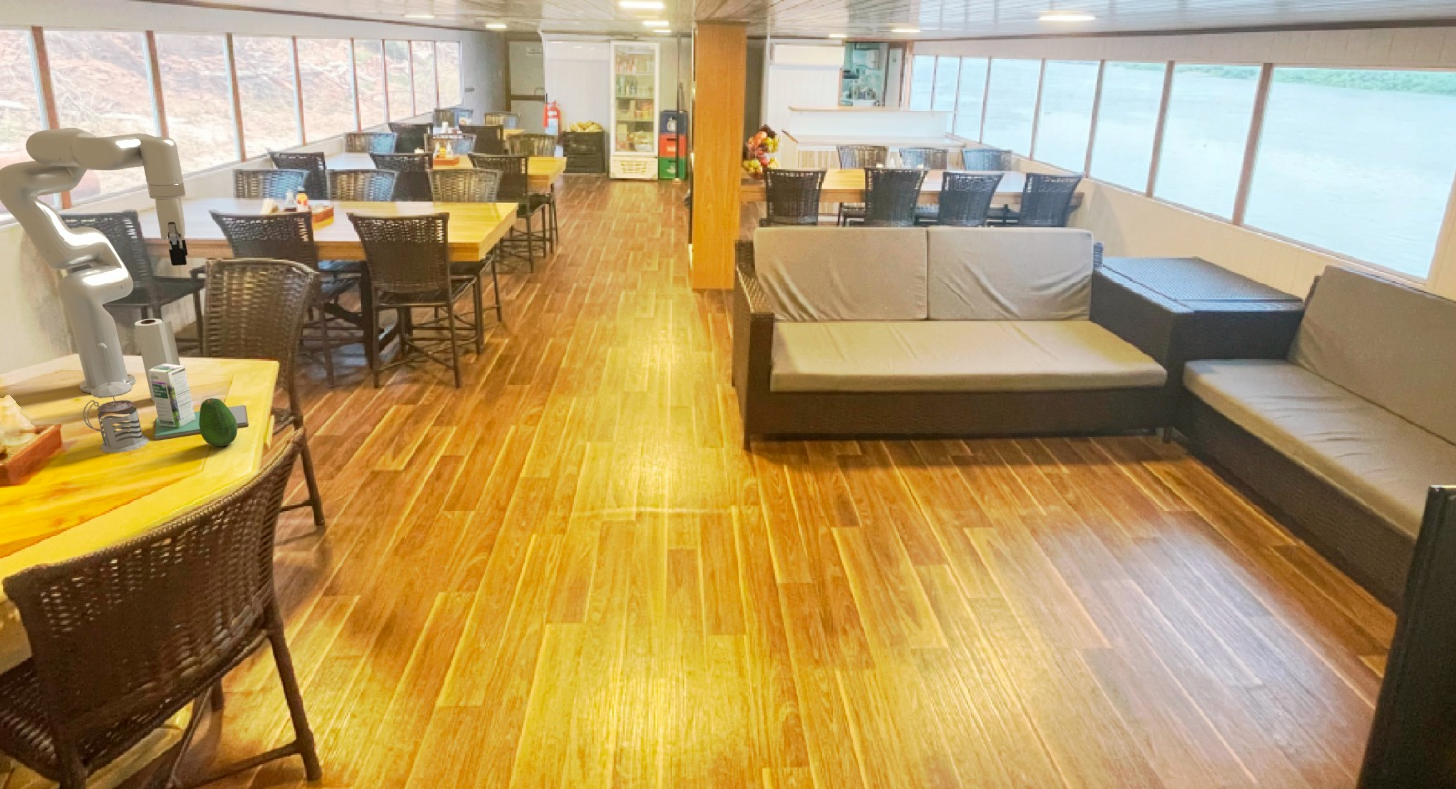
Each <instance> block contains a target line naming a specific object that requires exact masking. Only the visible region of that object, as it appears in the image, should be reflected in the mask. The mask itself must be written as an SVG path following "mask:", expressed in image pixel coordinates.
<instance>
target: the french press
mask: <svg viewBox="0 0 1456 789" xmlns="http://www.w3.org/2000/svg"><path fill="white" fill-rule="evenodd" d="M106 348H107V346H106V345H105V344H104V343H100V344H98V345H97V349H99V350H101V349H102V354H103V358H104V353H103V349H106ZM104 362H105V358H104ZM105 366H106V362H105ZM106 370H107V366H106ZM107 374H108V370H107ZM108 378H109V374H108ZM132 389H133V385H130V384H127V383H124V382H110V378H109V383H105V384H102V385H100V386H98V387H97V388H95V389H94V390H93V391H92V392H91V393H90V394H91V396H92V397H94V398H97V399H102V398H103V399H106V398H113V400H112V401H108V402H105V403H103V404H101V405H99V402H98V401H95V400H89V402H87V403H86V405H85V406H84V407H83V412H82V417H83V418H82V419H83V421H84V423H85V425H86V426H87V427H88V428H89V429H92V430H93V431H97V432H100V434H101V438H102V441H103V443H102V444H101V445H100V447H99V449H100V450H101V451H102V452H104V453H107V454H108V453H109V454H113V453H114V454H116V453H117V454H119V453H126V452H130V451H134V450H137V449H140V448H142V447H144V446H146V445H147V444H148V443H149V441H150V438H149V437H148V436H147V435H144V434H143V432H142V431H143V429H142V427H141V422H140V418H139V413H138V408H137V407H136V406H135V402H133V401H132V400H127V399H124V400H122V399H118V400H115V397H119V396H122V395H125V394H128V393H129V392H131V391H132ZM92 402H93V403H92ZM90 403H92V404H90ZM89 404H90V406H89V407H88V405H89ZM93 405H94V406H95V407H96V408H97V411H98V413H97V420H98V423H99V427H100V428H95V427H94V426H93V425H92V424H91V423H90V420H89V415H90V413H89V412H90V410H91V408H92V407H93ZM87 407H88V409H87ZM86 409H87V412H86ZM85 413H86V416H85ZM105 414H114V415H105ZM104 415H105V416H104ZM116 415H124V416H116ZM103 416H104V417H103ZM102 417H103V418H102ZM86 419H87V420H86Z"/></svg>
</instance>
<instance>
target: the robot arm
mask: <svg viewBox="0 0 1456 789" xmlns="http://www.w3.org/2000/svg"><path fill="white" fill-rule="evenodd" d="M25 149H26V152H27V154H28V155H29V157H30V158H32V160H30V161H23V162H16V163H12V164H9V165H6V166H4V167H2V168H0V202H1V204H2V205H3V206H4V207H5V208H6V210H7V211H8V212H9V213H10V214H11V215H12V216H13V217H14V219H15V220H17V222H18V223H19V224H20V226H21V227H22V228H23V230H24V232H25V233H26V235H27V236H28V238H29V239H30V242H32V244H33V246H34V247H35V249H36V250H37V252H38V254H39V255H40V256H41V258H42V259H43V260H44V262H45V263H46V265H48V267H50V268H51V269H53V270H57V271H65V270H69V269H75V268H79V267H81V266H86V265H89V266H90V267H91V268H90V267H89V268H86V269H81V270H78V271H73V272H71V273H68V274H67V275H65V276H63V277H62V278H61V279H60V280H59V281H58V283H57V294H58V297H59V299H60V300H61V302H62V305H63V306H64V309H65V311H66V313H67V316H68V318H69V319H68V320H69V322H70V326H71V330H72V333H73V338H74V342H75V344H76V350H77V352H78V353H77V354H78V356H79V361H80V365H81V368H82V371H83V372H82V373H83V376H84V380H83V381H82V382H81V383H79V388H80V389H79V390H80V391H81V392H84V393H88V394H91V392H92V391H93V390H94V389H95V388H97V387H98V386H100V385H102V384H105V383H109V378H110V382H124V383H127V384H130V385H132V386H133V385H135V382H136V377H135V375H133V374H130V373H127V369H126V363H125V361H124V359H125V358H124V356H123V352H122V348H121V347H122V346H121V343H120V339H119V335H118V330H117V325H116V322H115V320H114V317H113V316H112V315H111V314H110V313H109V312H108V310H106V309H105V307H103V305H105V304H107V303H110V302H113V301H117V300H120V299H123V298H126V297H127V296H129V295H131V293H132V292H133V289H134V281H133V278H132V276H131V274H130V271H129V269H127V266H126V265H125V263H124V261H123V260H122V258H121V257H120V256H119V255H120V254H118V252H117V250H116V249H115V247H114V246H113V244H112V243H111V241H110V239H109V238H108V237H107V236H106V235H105V234H104V233H103V232H102V231H101V230H99V229H97V228H95V227H91V226H80V227H75V228H70V227H68V225H67V224H66V223H65V222H64V220H63V218H62V217H61V215H60V214H59V213H58V212H57V210H56V209H55V208H53V207H51V205H49V204H48V203H46V202H44V201H42V200H41V199H39V198H38V197H40V196H48V195H53V194H60V193H66V192H69V191H72V190H73V189H75V188H76V187H78V185H79V184H80V182H81V181H82V179H83V177H84V176H85V175H86V173H87V171H89V170H91V171H120V170H126V169H132V168H139V167H140V168H141V167H143V170H144V175H145V179H146V180H145V181H146V185H147V190H148V195H149V198H150V199H151V200H155V209H156V216H157V220H158V221H157V222H158V228H159V231H160V239H161V240H162V241H165V240H166V239H167V240H168V252H169V254H168V255H169V258H170V262H171V266H173V267H176V266H186V265H187V264H188V261H187V256H188V248H187V242H186V239H185V235H186V225H185V216H184V211H183V203H182V200H181V199H182V198H185V197H186V196H187V194H186V189H185V183H184V179H183V174H182V173H183V172H182V167H181V162H180V158H179V157H180V156H179V151H178V145H177V143H176V141H175V140H174V139H173V138H171V137H169V136H168V137H167V136H153V135H150V134H147V133H130V134H122V135H121V134H120V135H111V136H103V137H100V136H99V137H98V136H96V135H95V134H93V133H91V132H89V131H85V130H84V129H80V128H78V127H66V128H64V127H63V128H55V129H43V130H39V131H36V132H34V133H32V134H31V135H30V136H28V138H27V140H26V142H25ZM100 343H104V344H105V345H106V346H107V348H106V349H103V353H104V358H105V362H106V366H107V370H108V374H109V378H108V374H107V370H106V366H105V362H104V358H103V354H102V349H101V350H99V349H97V345H98V344H100Z"/></svg>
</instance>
